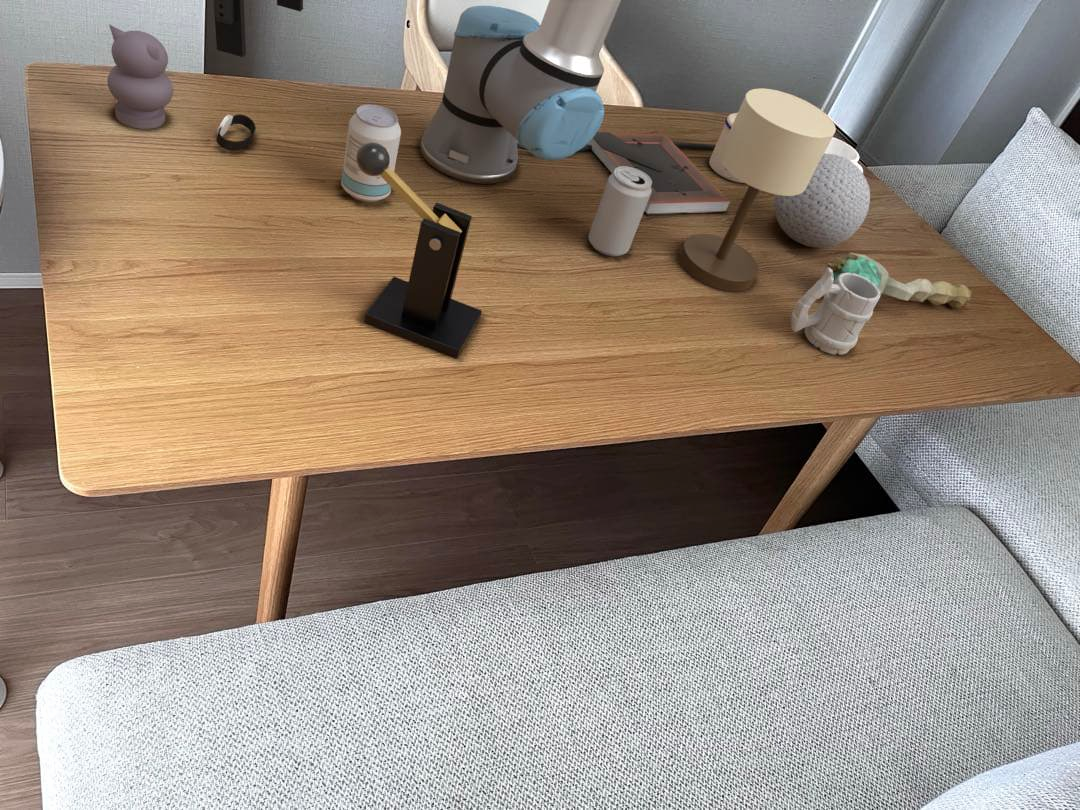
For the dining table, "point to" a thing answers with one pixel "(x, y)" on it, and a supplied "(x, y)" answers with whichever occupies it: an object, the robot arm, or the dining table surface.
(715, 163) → the teacup with lid
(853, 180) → the decorative ball
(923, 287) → the scepter
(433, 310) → the switch bracket
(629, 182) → the beverage can
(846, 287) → the mug
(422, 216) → the lamp switch
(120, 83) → the cat figurine
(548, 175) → the dining table surface
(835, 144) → the mug
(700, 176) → the picture frame
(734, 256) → the lamp
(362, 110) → the beverage can
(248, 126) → the watch
